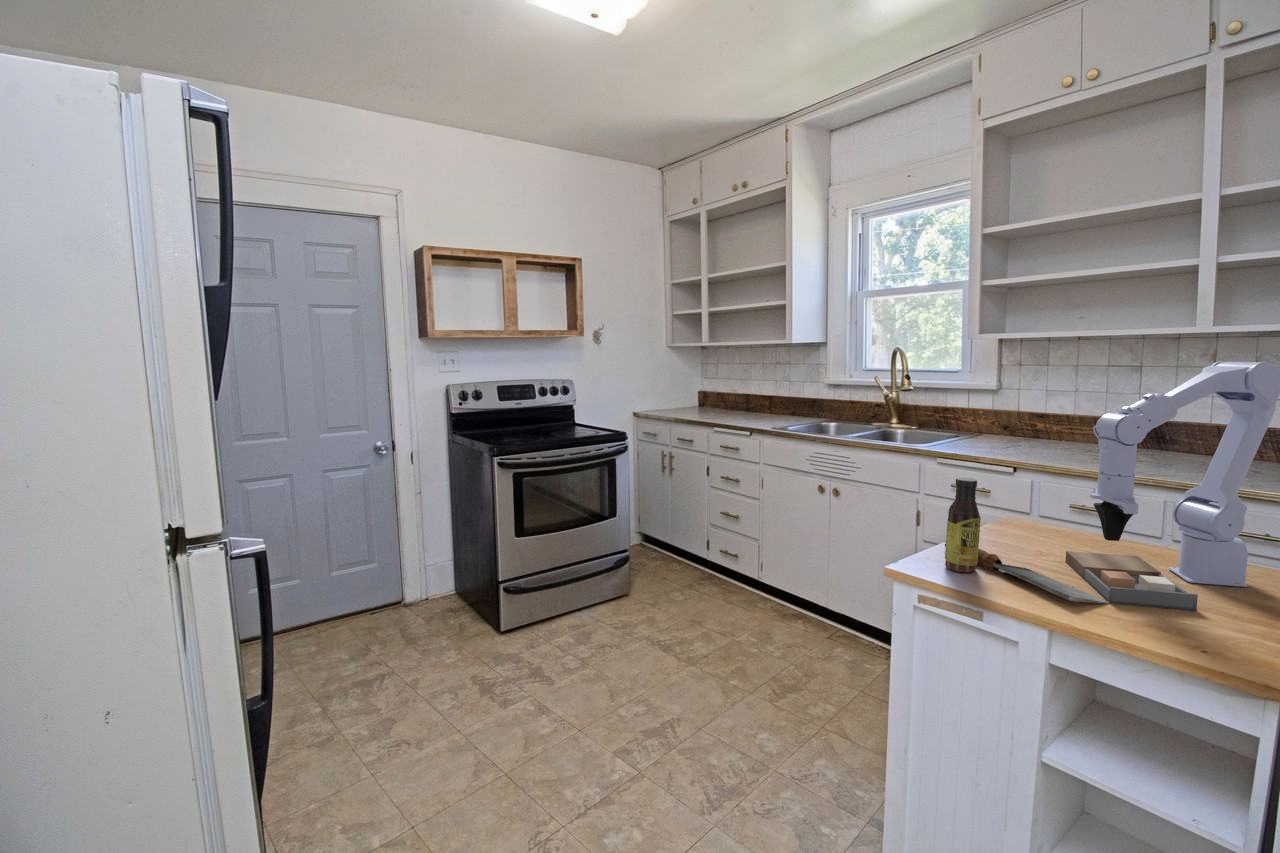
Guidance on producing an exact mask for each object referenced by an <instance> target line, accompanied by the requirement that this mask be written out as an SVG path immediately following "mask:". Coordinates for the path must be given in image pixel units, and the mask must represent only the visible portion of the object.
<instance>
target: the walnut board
mask: <svg viewBox="0 0 1280 853" xmlns="http://www.w3.org/2000/svg"><path fill="white" fill-rule="evenodd" d="M1064 560H1065V563H1066V564H1067V565H1068V566H1069V567H1070V568H1071V569H1072V570H1073V571H1074V572H1076V573H1077V574H1078V576H1080V577H1081V578H1082V579H1083V580H1084V569H1088V570H1090V571H1091V572H1092V573H1101V570H1103V571H1117V572H1126V573H1127V574H1129V575H1130V576H1139V575H1145V576H1157V577H1158V574H1162V571H1159V570H1158V569H1157V568H1155V567H1154V566H1153V565H1152V564H1150V563H1148V562H1147V561H1146V560H1144V559H1142V558H1140V557H1139V556H1138V555H1131V554H1129V555H1128V554H1126V555H1124V554H1114V553H1113V554H1111V553H1101V552H1100V553H1099V552H1085V551H1083V552H1081V551H1072V550H1071V551H1069V550H1068V551H1065V559H1064Z"/></svg>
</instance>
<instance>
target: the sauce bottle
mask: <svg viewBox="0 0 1280 853" xmlns="http://www.w3.org/2000/svg"><path fill="white" fill-rule="evenodd" d="M977 487H978V480H977V479H975V478H973V477H972V478H971V477H956V478H955V488H956V489H955V500H954V501H953V502H952V503H951V504H950V506H949V508H948V517H947V521H946V522H947V523H946V524H947V525H946V538H945V542H946V547H945V552H944V559H945V563H944V565H945V567H946V568H947V569H949V571H953V572H957V573H964V574H965V573H968V574H969V573H973V572H975V571H976V570H977V566H978V565H977V562H978V548H979V549H980V547H979V544H980V533H981V532H980V531H981V521H982V520H981V516H980V512H979V509H978V505H977V501H976V499H977V498H976V492H977Z"/></svg>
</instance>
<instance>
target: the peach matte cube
mask: <svg viewBox="0 0 1280 853" xmlns="http://www.w3.org/2000/svg"><path fill="white" fill-rule="evenodd" d="M1101 581H1102V582H1103V583H1104V584H1106V585H1107V586H1108V587H1109V588H1110V587H1119V588H1132V589H1135V579H1134V578H1133V577H1131V576H1130V575H1129V574H1127V573H1126V572H1117V571H1103V570H1101Z"/></svg>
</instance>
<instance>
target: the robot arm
mask: <svg viewBox="0 0 1280 853" xmlns="http://www.w3.org/2000/svg"><path fill="white" fill-rule="evenodd" d="M1212 394H1214V395H1216V396H1218V398H1219V399H1221V400H1222V402H1224V403H1225V404H1226V405H1228V406H1229V408H1230V410H1232V414H1231V416H1230V419H1229V421H1228V423H1227V426H1226V428H1225V429H1224V431H1223V435H1222V437H1221V439H1220V441H1219V443H1218V446H1217V447H1216V451H1215V452H1214V454H1213V457H1212V459H1211V461H1210V464H1209V466H1208V469H1207V471H1206V472H1205V476H1204V477H1203V480H1202V482H1201V484H1199V485H1197V486H1195V487H1192V488H1189V489H1188V490H1185V493H1184V495H1183V497H1182V498H1181V499H1180V500H1179V501H1178V502H1177V503H1176V504H1175V506H1174V507H1173V508H1172V519H1173V521H1174V523H1175V524H1176V525H1178V527H1179V528H1178V531H1180V532H1181V537H1180V538H1181V539H1180V547H1179V548H1180V549H1179V559H1178V567H1177V566H1176V567H1175V566H1174V567H1173V566H1168V570H1169V571H1171V572H1172V573H1174V574H1175V575H1177V576H1178V577H1179V578H1181V579H1182V580H1184V581H1185V582H1188V583H1192V584H1203V585H1204V584H1206V585H1216V586H1229V587H1230V586H1232V587H1245V588H1247V587H1248V583H1246V576H1247V568H1248V559H1249V555H1248V554H1249V552H1248V551H1249V550H1248V548H1247V545H1246V543H1245V542H1244V541H1243V540H1242V539H1241V538H1239V537H1238V536H1240V534H1241V533H1242V532H1243V531H1244V527H1245V515H1246V513H1247V510H1248V506H1247V505H1246V503H1245V502H1244V501H1243V500H1242V499H1241V498H1240V497H1239V495H1238V493H1239V491H1240V489H1241V487H1242V485H1243V482H1244V481H1245V479H1246V476H1247V474H1248V472H1249V469H1250V468H1251V465H1252V464H1253V461H1254V458H1255V457H1256V455H1257V451H1258V450H1259V447H1260V446H1261V443H1262V441H1263V438H1264V436H1265V434H1266V432H1267V430H1268V429H1269V428H1268V427H1269V425H1270V423H1271V422H1272V419H1273V416H1274V414H1275V413H1276V412H1275V411H1276V406H1277V401H1278V399H1279V396H1280V366H1278V365H1277V364H1276V363H1274V362H1271V361H1256V362H1255V361H1227V360H1220V361H1219V360H1218V361H1216V362H1214V363H1212V364H1211V365H1209V366H1205V367H1203V368H1202V371H1201V372H1200V373H1199V374H1197V375H1196V376H1194V377H1192V378H1190V379H1189V380H1187V381H1185V382H1184V383H1182V384H1180V385H1178V386H1177V387H1175V388H1174V389H1171V390H1170V391H1168V392H1167V393H1165V394H1162V393H1157V392H1155V393H1146V394H1144V395H1143V396H1142V399H1140V400H1138V401H1137V402H1134V403H1133V404H1130V405H1129V406H1126V405H1125V406H1123V407H1122V408H1120V410H1119V411H1118V412H1109V413H1108V412H1107V413H1106V414H1103V415H1102V416H1101V417H1100V418H1098V420H1097V422H1096V423H1095V425H1093V428H1092V429H1093V434H1094V435H1095V437H1096V438H1097V442H1098V444H1097V446H1098V448H1099V457H1098V470H1097V471H1098V472H1097V473H1098V474H1097V484H1096V485H1097V486H1093V492H1092V493H1091V492H1090V494H1089V498H1091V499H1095V500H1100V501H1102V502H1095V503H1093V507H1094V509H1095V511H1096V512H1097V515H1098V517H1099V522H1100V524H1101V530H1102V534H1103V538H1104V539H1105V540H1106V541H1110V542H1112V541H1113V542H1120V540H1121V537H1122V535H1123V533H1124V530H1125V527H1126V525H1127V524H1128V521H1129V520H1130V519H1131V518H1132V517H1133V515H1138V514H1139V504H1138V503H1136V499H1135V496H1134V492H1135V480H1136V479H1135V477H1136V476H1135V475H1136V462H1137V450H1138V444H1139V443H1140V444H1141V443H1142V441H1144V439H1145V438H1146V436H1147V434H1148V433H1149V432H1151V430H1154V429H1155V428H1157V427H1159V426H1161V425H1163V424H1165V423H1167V422H1169V421H1171V420H1173V419H1174V418H1176V417H1177V415H1178V410H1179V409H1181V408H1183V407H1186V406H1187V405H1191V404H1193V403H1195V402H1196V401H1197V402H1198V401H1199V400H1201V399H1204V398H1206V397H1208V396H1211V395H1212ZM1213 503H1215V504H1213ZM1217 504H1218V505H1217Z"/></svg>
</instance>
